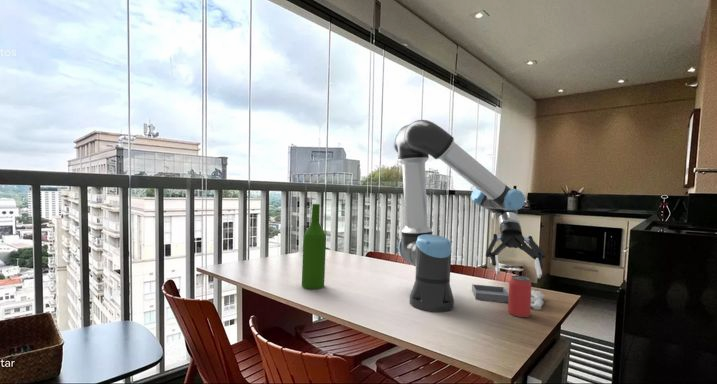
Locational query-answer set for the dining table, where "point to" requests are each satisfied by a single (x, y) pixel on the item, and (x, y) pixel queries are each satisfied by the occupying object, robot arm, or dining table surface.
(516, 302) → the beer can
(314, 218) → the wine bottle
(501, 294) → the can tray
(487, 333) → the dining table surface
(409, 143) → the robot arm
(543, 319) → the dining table surface
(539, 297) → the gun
